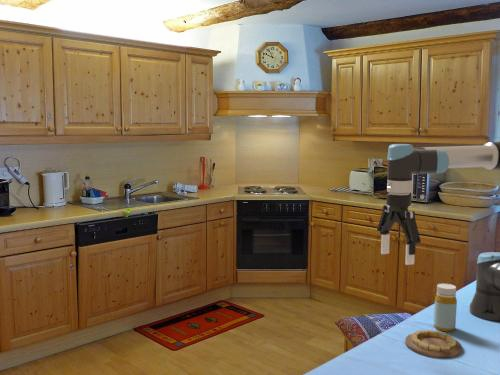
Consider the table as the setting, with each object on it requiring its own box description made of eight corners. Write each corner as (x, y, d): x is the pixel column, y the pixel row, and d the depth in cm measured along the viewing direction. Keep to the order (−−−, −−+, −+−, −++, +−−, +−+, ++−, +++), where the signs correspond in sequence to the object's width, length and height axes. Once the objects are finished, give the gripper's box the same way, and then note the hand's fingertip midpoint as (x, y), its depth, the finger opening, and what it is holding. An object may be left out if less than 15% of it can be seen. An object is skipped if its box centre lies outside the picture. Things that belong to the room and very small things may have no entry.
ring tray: (441, 332, 178) (441, 325, 178) (473, 354, 162) (473, 347, 161) (395, 337, 174) (395, 330, 174) (423, 360, 158) (424, 352, 157)
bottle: (456, 332, 178) (459, 290, 176) (435, 331, 179) (437, 288, 177) (453, 325, 185) (455, 283, 183) (432, 323, 186) (434, 282, 184)
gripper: (367, 188, 177) (366, 250, 179) (412, 199, 153) (410, 270, 156) (387, 187, 179) (385, 248, 182) (434, 198, 155) (431, 268, 158)
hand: (396, 258), depth 169 cm, fingers open, 13 cm apart
